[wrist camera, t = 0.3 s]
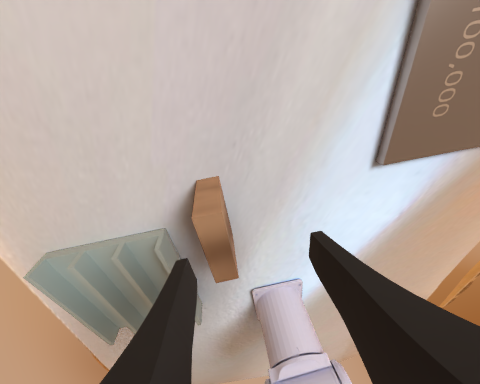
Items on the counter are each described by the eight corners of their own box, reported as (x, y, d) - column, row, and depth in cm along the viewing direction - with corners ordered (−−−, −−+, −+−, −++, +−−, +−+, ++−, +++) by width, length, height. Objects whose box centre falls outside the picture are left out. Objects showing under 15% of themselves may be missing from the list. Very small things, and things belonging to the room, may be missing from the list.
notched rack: (202, 303, 29) (201, 324, 27) (118, 321, 29) (109, 345, 26) (165, 228, 21) (159, 248, 18) (46, 252, 20) (23, 277, 18)
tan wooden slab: (232, 233, 23) (238, 278, 18) (212, 237, 23) (213, 283, 18) (218, 175, 19) (221, 212, 13) (194, 180, 18) (188, 219, 13)
